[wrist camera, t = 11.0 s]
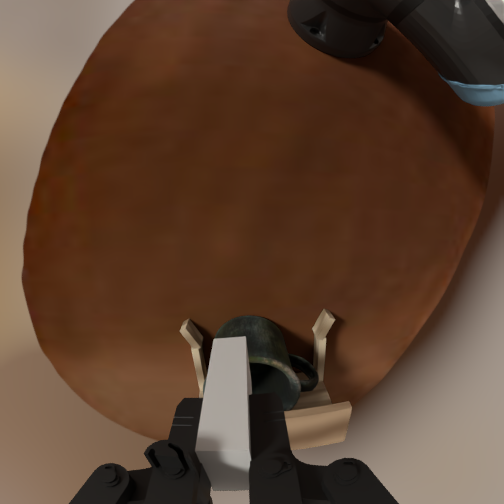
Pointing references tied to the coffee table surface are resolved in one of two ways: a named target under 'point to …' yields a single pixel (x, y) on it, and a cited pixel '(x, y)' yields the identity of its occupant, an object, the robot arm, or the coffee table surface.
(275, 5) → the coffee table surface
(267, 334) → the mug
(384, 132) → the coffee table surface
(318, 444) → the wooden u-frame
